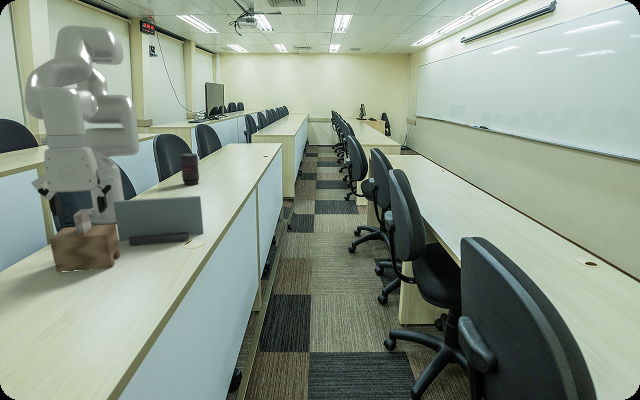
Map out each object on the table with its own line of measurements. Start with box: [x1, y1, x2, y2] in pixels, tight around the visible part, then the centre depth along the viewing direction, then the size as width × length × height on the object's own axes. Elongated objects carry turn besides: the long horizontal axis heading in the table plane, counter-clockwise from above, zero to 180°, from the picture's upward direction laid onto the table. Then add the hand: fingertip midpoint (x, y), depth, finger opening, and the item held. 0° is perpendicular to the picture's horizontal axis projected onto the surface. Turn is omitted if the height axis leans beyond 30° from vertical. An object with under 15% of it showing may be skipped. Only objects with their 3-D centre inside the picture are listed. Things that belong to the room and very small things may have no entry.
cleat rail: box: [128, 232, 190, 247], centre depth 104 cm, size 16×2×2 cm, turn 105°
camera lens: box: [179, 153, 200, 186], centre depth 176 cm, size 8×8×15 cm
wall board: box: [113, 195, 204, 242], centre depth 108 cm, size 24×2×12 cm, turn 105°
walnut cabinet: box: [49, 208, 121, 273], centre depth 89 cm, size 12×8×14 cm, turn 105°
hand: (80, 212), depth 87 cm, fingers open, 9 cm apart
